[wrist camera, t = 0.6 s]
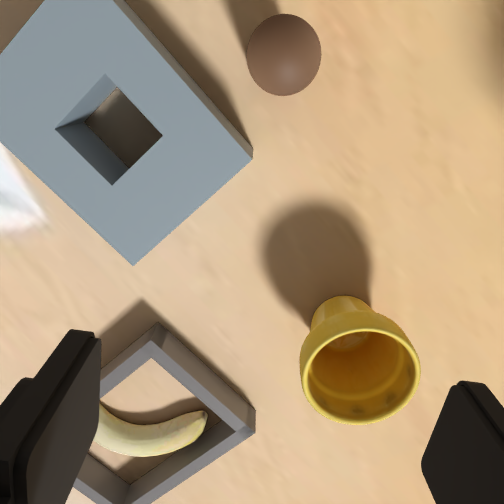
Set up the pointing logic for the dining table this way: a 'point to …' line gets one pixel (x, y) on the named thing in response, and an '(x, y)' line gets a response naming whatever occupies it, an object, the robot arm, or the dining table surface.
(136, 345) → the tray
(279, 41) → the long walnut pin
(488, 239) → the dining table surface
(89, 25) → the hole block
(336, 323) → the plant pot
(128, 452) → the fruit
